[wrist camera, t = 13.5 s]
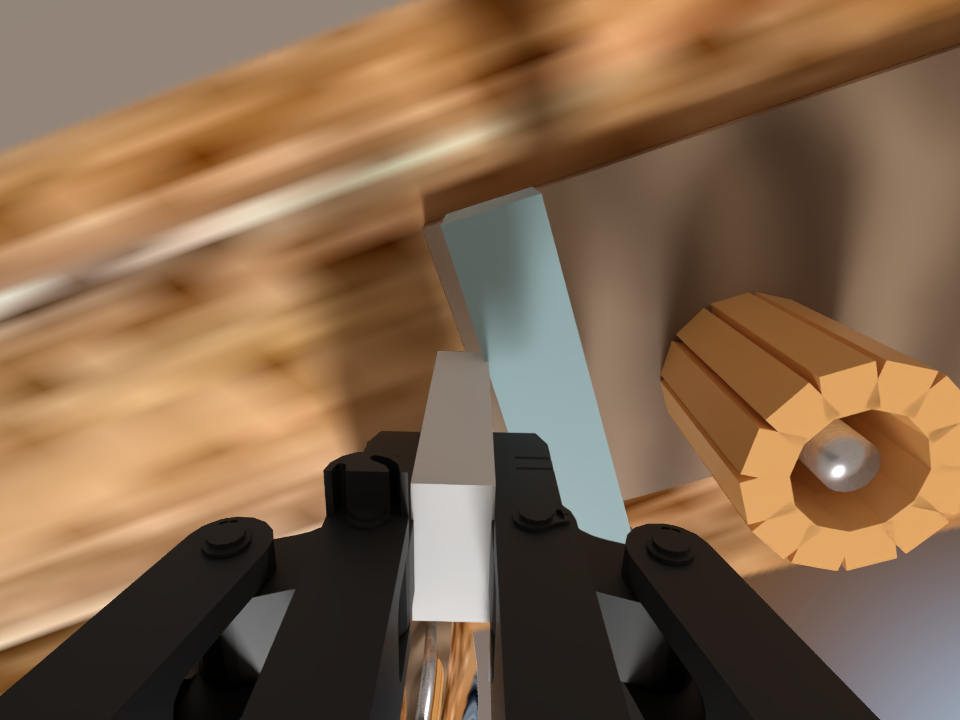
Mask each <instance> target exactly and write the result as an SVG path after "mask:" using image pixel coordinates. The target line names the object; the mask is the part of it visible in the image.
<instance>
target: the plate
mask: <svg viewBox="0 0 960 720" xmlns="http://www.w3.org/2000/svg"><path fill="white" fill-rule="evenodd" d="M534 188H535V189H536V190H538V191H539V192H540V193H541V194H542V197H543V201H544V205H545V209H546V212H547V216H548V220H549V224H550V228H551V231H552V235H553V239H554V243H555V246H556V250H557V254H558V258H559V262H560V265H561V269H562V273H563V277H564V280H565V284H566V288H567V292H568V295H569V299H570V303H571V307H572V311H573V314H574V318H575V322H576V326H577V329H578V333H579V337H580V341H581V345H582V348H583V352H584V356H585V360H586V363H587V367H588V371H589V375H590V379H591V382H592V386H593V390H594V394H595V397H596V401H597V405H598V409H599V413H600V416H601V420H602V424H603V428H604V431H605V435H606V439H607V443H608V447H609V450H610V454H611V458H612V462H613V465H614V469H615V473H616V477H617V481H618V484H619V488H620V492H621V496H622V499H623V501H624V500H628V499H631V498H635V497H639V496H642V495H646V494H650V493H653V492H657V491H661V490H664V489H668V488H671V487H675V486H679V485H682V484H686V483H690V482H693V481H697V480H701V479H704V478H708V477H711V476H712V474H711V473H710V472H709V470H708V469H707V467H706V466H705V465H704V463H703V462H702V460H701V459H700V458H699V456H698V455H697V453H696V452H695V451H694V449H693V448H692V446H691V445H690V444H689V442H688V441H687V439H686V438H685V437H684V435H683V434H682V432H681V431H680V429H679V428H678V427H677V425H676V424H675V422H674V421H673V420H672V418H671V416H670V415H669V413H668V411H667V407H666V403H665V399H664V395H663V391H662V386H661V382H660V381H661V380H665V379H664V378H663V377H662V376H661V371H662V368H663V366H664V363H665V360H666V357H667V354H668V351H669V348H670V345H671V342H672V341H676V342H681V343H684V342H683V341H682V340H681V339H680V338H679V337H678V336H677V335H676V334H677V333H678V332H679V331H680V330H681V329H682V328H683V327H684V326H685V325H686V324H687V323H689V322H690V321H691V320H692V319H693V318H694V317H695V316H696V315H697V314H698V313H699V312H700V311H701V310H702V309H703V308H705V309H706V310H708V311H709V312H711V313H712V308H711V304H712V303H715V302H719V301H722V300H725V299H728V298H732V297H735V296H738V295H741V294H745V293H748V292H749V293H750V294H752V295H755V292H758V293H763V294H767V295H772V296H777V297H781V298H786V299H791V300H793V301H795V302H797V303H799V304H802V305H804V306H806V307H808V308H810V309H812V310H814V311H816V312H818V313H820V314H822V315H824V316H826V317H828V318H830V319H832V320H834V321H837V322H839V323H841V324H843V325H845V326H847V327H849V328H851V329H853V330H855V331H857V332H859V333H861V334H863V335H865V336H867V337H869V338H872V339H874V340H876V341H878V342H880V343H882V344H884V345H886V346H888V347H890V348H892V349H894V350H896V351H898V352H900V353H902V354H904V355H907V356H909V357H911V358H913V359H915V360H917V361H919V362H921V363H923V364H925V365H927V366H929V367H931V368H933V369H935V370H937V371H938V372H940V373H943V374H945V375H947V376H948V377H949V379H950V380H951V381H952V382H953V383H954V384H955V385H956V386H957V387H958V388H959V390H960V44H958V45H955V46H952V47H949V48H946V49H943V50H940V51H937V52H934V53H931V54H928V55H925V56H922V57H919V58H916V59H913V60H910V61H907V62H904V63H901V64H898V65H895V66H892V67H889V68H886V69H883V70H880V71H878V72H875V73H872V74H869V75H866V76H863V77H860V78H857V79H854V80H851V81H848V82H845V83H842V84H839V85H836V86H833V87H830V88H827V89H824V90H821V91H818V92H815V93H812V94H809V95H806V96H803V97H800V98H798V99H795V100H792V101H789V102H786V103H783V104H780V105H777V106H774V107H771V108H768V109H765V110H762V111H759V112H756V113H753V114H750V115H747V116H744V117H741V118H738V119H735V120H732V121H729V122H726V123H723V124H720V125H718V126H715V127H712V128H709V129H706V130H703V131H700V132H697V133H694V134H691V135H688V136H685V137H682V138H679V139H676V140H673V141H670V142H667V143H664V144H661V145H658V146H655V147H652V148H649V149H646V150H643V151H640V152H638V153H635V154H632V155H629V156H626V157H623V158H620V159H617V160H614V161H611V162H608V163H605V164H602V165H599V166H596V167H593V168H590V169H587V170H584V171H581V172H578V173H575V174H572V175H569V176H566V177H563V178H560V179H558V180H555V181H552V182H549V183H546V184H543V185H540V186H537V187H534ZM443 220H444V218H442V219H439V220H436V221H433V222H430V223H427V224H425V225H424V226H423V228H422V230H423V233H424V236H425V239H426V241H427V244H428V247H429V250H430V253H431V255H432V258H433V261H434V264H435V267H436V270H437V272H438V275H439V278H440V281H441V284H442V286H443V289H444V292H445V295H446V298H447V300H448V303H449V306H450V309H451V312H452V315H453V317H454V320H455V323H456V326H457V329H458V331H459V334H460V337H461V340H462V343H463V346H464V348H465V351H466V352H482V351H481V348H480V345H479V342H478V339H477V336H476V333H475V329H474V326H473V323H472V320H471V317H470V314H469V311H468V308H467V305H466V302H465V299H464V296H463V293H462V290H461V287H460V284H459V280H458V277H457V274H456V271H455V268H454V265H453V262H452V259H451V256H450V253H449V250H448V247H447V244H446V241H445V238H444V235H443V231H442V228H441V224H442V222H443ZM712 314H713V313H712ZM489 376H490V375H489ZM490 394H491V411H492V427H493V430H494V432H507V433H508V430H507V427H506V424H505V421H504V418H503V415H502V412H501V409H500V406H499V403H498V400H497V397H496V394H495V391H494V388H493V385H492V381H491V378H490Z"/></svg>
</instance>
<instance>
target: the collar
mask: <svg viewBox="0 0 960 720" xmlns="http://www.w3.org/2000/svg"><path fill="white" fill-rule="evenodd" d="M711 308H712V313H713V314H712V313H711V312H709V311H708V310H706V309H705V308H703V309H702V310H701V311H700V312H699V313H698V314H697V315H696V316H695V317H694V318H693V319H692V320H691V321H690V322H689V323H687V324H686V325H685V326H684V327H683V328H682V329H681V330H680V331H679V332H678V333H677V334H676V335H677V336H678V337H679V338H680V339H681V340H682V341H683V342H684V343H681V342H676V341H672V342H671V345H670V348H669V351H668V354H667V357H666V360H665V363H664V366H663V368H662V371H661V376H662V377H663V378H664V379H665V380H661V381H660V382H661V386H662V391H663V395H664V399H665V403H666V407H667V411H668V413H669V415H670V416H671V418H672V420H673V421H674V422H675V424H676V425H677V427H678V428H679V429H680V431H681V432H682V434H683V435H684V437H685V438H686V439H687V441H688V442H689V444H690V445H691V446H692V448H693V449H694V451H695V452H696V453H697V455H698V456H699V458H700V459H701V460H702V462H703V463H704V465H705V466H706V467H707V469H708V470H709V472H710V473H711V474H712V476H713V477H714V479H715V480H716V482H717V483H718V484H719V486H720V487H721V489H722V490H723V491H724V493H725V494H726V496H727V497H728V498H729V500H730V501H731V503H732V504H733V505H734V507H735V508H736V510H737V511H738V512H739V514H740V515H741V517H742V518H743V519H744V521H745V522H746V524H747V525H748V527H749V528H750V529H751V531H752V532H753V533H754V534H755V535H757V536H758V537H759V538H760V539H761V540H762V541H763V542H765V543H766V544H767V545H768V546H769V547H770V548H771V549H773V550H774V551H775V552H776V553H777V554H778V555H779V556H780V557H782V558H783V559H785V558H786V557H787V558H788V559H789V560H790V562H791V563H795V564H801V565H807V566H812V567H818V568H823V569H829V570H835V571H837V570H838V569H839V567H840V565H842V566H843V567H844V568H845V569H846V570H851V569H855V568H859V567H863V566H867V565H871V564H875V563H879V562H883V561H887V560H891V559H895V558H897V554H896V545H897V546H899V547H900V548H901V549H902V550H903V551H904V552H905V553H908V552H909V551H910V550H912V549H913V548H915V547H916V546H917V545H919V544H920V543H921V542H923V541H924V540H926V539H927V538H928V537H930V536H931V535H932V534H934V533H935V532H937V531H938V530H939V529H941V528H942V527H943V526H945V525H946V524H948V523H949V522H948V521H947V520H946V519H945V518H944V517H943V516H942V515H941V514H940V513H939V512H942V513H947V514H952V515H956V514H957V512H958V510H959V508H960V390H959V388H958V387H957V386H956V385H955V384H954V383H953V382H952V381H951V380H950V379H949V377H948V376H947V375H945V374H943V373H940V372H938V371H937V370H935V369H933V368H931V367H929V366H927V365H925V364H923V363H921V362H919V361H917V360H915V359H913V358H911V357H909V356H907V355H904V354H902V353H900V352H898V351H896V350H894V349H892V348H890V347H888V346H886V345H884V344H882V343H880V342H878V341H876V340H874V339H872V338H869V337H867V336H865V335H863V334H861V333H859V332H857V331H855V330H853V329H851V328H849V327H847V326H845V325H843V324H841V323H839V322H837V321H834V320H832V319H830V318H828V317H826V316H824V315H822V314H820V313H818V312H816V311H814V310H812V309H810V308H808V307H806V306H804V305H802V304H799V303H797V302H795V301H793V300H791V299H786V298H781V297H777V296H772V295H767V294H763V293H758V292H755V295H752V294H750V293H749V292H748V293H745V294H741V295H738V296H735V297H732V298H728V299H725V300H722V301H719V302H715V303H712V304H711ZM835 419H840V420H842V421H843V422H844V423H846V424H847V425H848V426H850V427H851V428H852V429H853V430H855V431H856V432H857V433H859V434H860V435H861V436H863V437H864V438H865V439H867V440H868V441H869V442H871V443H872V444H873V445H875V446H876V448H877V449H878V451H879V453H880V457H881V463H880V468H879V470H878V472H877V474H876V475H875V477H874V478H873V479H872V480H871V481H870V482H869V483H868V484H866V485H865V486H863V487H861V488H859V489H857V490H854V491H849V492H839V491H835V490H832V489H830V488H828V487H827V486H826V485H825V484H824V483H823V482H822V481H821V480H820V479H819V478H818V477H817V476H815V475H814V474H813V473H812V472H811V471H810V470H809V469H808V468H807V467H806V466H805V465H804V464H803V463H802V462H801V461H800V460H799V459H798V457H799V455H800V452H801V450H802V448H803V446H804V444H805V443H807V442H808V441H809V440H810V439H811V438H813V437H814V436H815V435H816V434H817V433H819V432H820V431H821V430H822V429H824V428H825V427H826V426H827V425H828V424H830V423H831V422H832V421H833V420H835ZM895 544H896V545H895Z"/></svg>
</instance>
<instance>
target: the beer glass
mask: <svg viewBox="0 0 960 720" xmlns="http://www.w3.org/2000/svg"><path fill="white" fill-rule="evenodd" d="M410 638H411V646H410V653H409V660H408V667H407V674H406V681H405V689H404V696H403V703H402V710H401V717H400V720H478V676H477V662H476V654H475V646H474V640H473V633H472V628H471V623H470V622H446V621H412V613H411V619H410Z"/></svg>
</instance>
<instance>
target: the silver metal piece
mask: <svg viewBox="0 0 960 720" xmlns="http://www.w3.org/2000/svg"><path fill="white" fill-rule="evenodd" d="M798 459H799V460H800V461H801V462H802V463H803V464H804V465H805V466H806V467H807V468H808V469H809V470H810V471H811V472H812V473H813V474H814V475H815V476H817V477H818V478H819V479H820V480H821V481H822V482H823V483H824V484H825V485H826V486H827V487H828V488H830V489H832V490H835V491H839V492H849V491H854V490H857V489H859V488H861V487H863V486H865V485H866V484H868V483H869V482H870V481H871V480H872V479H873V478H874V477H875V475H876V474H877V472H878V470H879V468H880V463H881V457H880V453H879V451H878V449H877V448H876V446H875V445H873V444H872V443H871V442H869V441H868V440H867V439H865V438H864V437H863V436H861V435H860V434H859V433H857V432H856V431H855V430H853V429H852V428H851V427H850V426H848V425H847V424H846V423H844V422H843V421H842V420H840V419H835V420H833V421H832V422H831V423H830V424H828V425H827V426H826V427H825V428H824V429H822V430H821V431H820V432H819V433H817V434H816V435H815V436H814V437H813V438H811V439H810V440H809V441H808V442H807V443H805V444H804V446H803V448H802V450H801V452H800V455H799V457H798Z"/></svg>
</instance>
